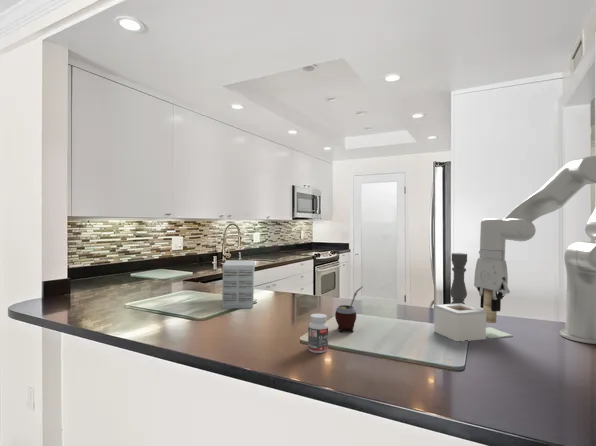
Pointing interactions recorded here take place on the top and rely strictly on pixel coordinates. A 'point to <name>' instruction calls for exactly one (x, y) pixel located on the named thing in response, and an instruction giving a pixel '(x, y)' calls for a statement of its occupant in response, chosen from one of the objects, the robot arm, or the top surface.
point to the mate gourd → (346, 316)
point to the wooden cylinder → (489, 306)
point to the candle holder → (458, 278)
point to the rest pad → (496, 333)
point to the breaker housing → (460, 322)
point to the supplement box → (238, 284)
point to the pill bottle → (318, 333)
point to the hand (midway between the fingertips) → (490, 308)
